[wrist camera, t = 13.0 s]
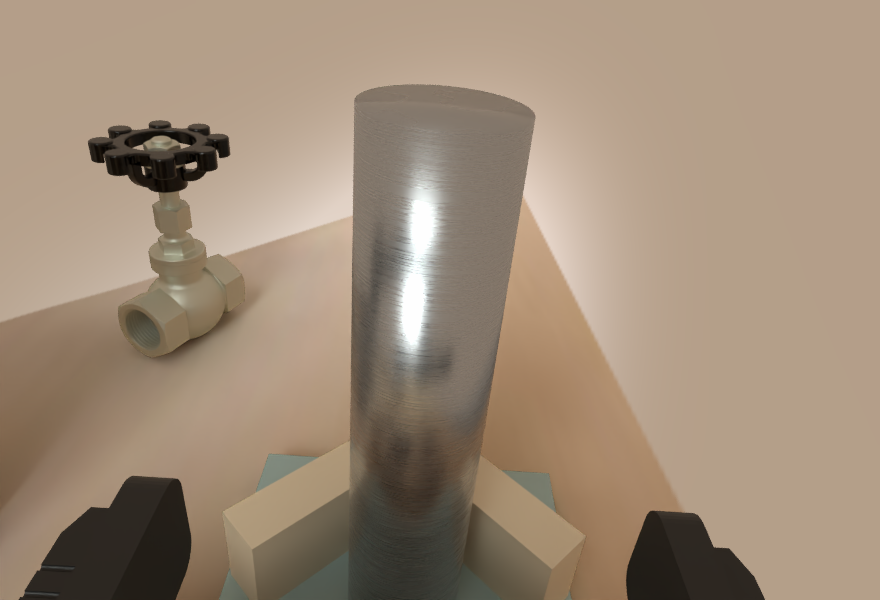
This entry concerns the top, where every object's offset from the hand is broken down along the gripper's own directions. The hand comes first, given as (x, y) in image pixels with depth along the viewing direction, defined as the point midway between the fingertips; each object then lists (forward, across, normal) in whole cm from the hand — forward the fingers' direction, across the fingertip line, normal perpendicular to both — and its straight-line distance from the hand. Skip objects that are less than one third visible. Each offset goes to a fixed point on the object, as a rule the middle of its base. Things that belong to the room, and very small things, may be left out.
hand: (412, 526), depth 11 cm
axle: (+7, 0, +12) cm, 14 cm away
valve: (+24, +14, +14) cm, 31 cm away
